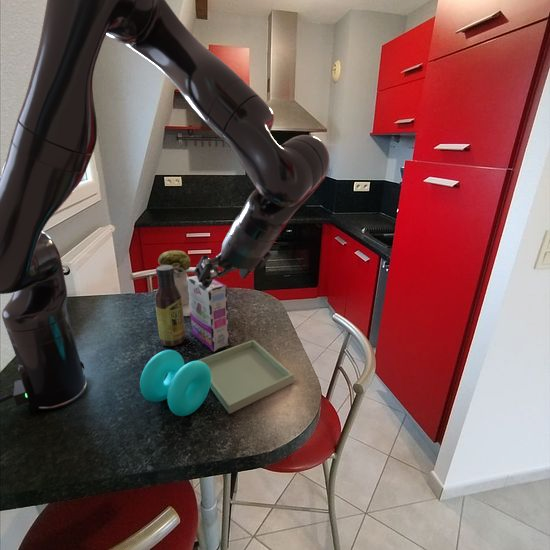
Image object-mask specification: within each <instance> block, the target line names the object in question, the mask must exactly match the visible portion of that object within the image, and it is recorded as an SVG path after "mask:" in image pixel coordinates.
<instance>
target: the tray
mask: <svg viewBox="0 0 550 550" xmlns="http://www.w3.org/2000/svg"><path fill="white" fill-rule="evenodd" d="M196 361H202V362H204V363H205V364H207V366H208V367H209V369H210V372H211V385H210V390H211V391H212V393H213V395H215V396H216V398H217V399H218V401H219V402H220V404H221V405H222V406H223V408H224V409H225V410H226V412H227V413H228V414H229V415H230V414H232V413H234V412H237V411H239V410H241V409H242V408H245V407H246V406H249V405H250V404H253V403H255V402H257V401H259V400H260V399H263V398H265V397H267V396H269V395H271V394H273V393H275V392H278V391H279V390H281V389H284V388H285V387H287V386H289V385H291V384H293V383H294V382H295V381H294V377H295V375H294V374H293V373H292V372H291V371H290V370H289V369H288V368H287V367H285V366H284V364H282V363H281V362H280V361H279V360H278V359H276V357H274V356H273V355H272V354H271V353H270V352H268V351H267V350H266V349H265V348H264V347H263V346H261V345H260V344H259V343H258V341H256V340H255V339H251V340H249V341H245V342H242V343H240V344H237V345H235V346H232V347H230V348H226V349H223V350H222V351H221V350H220V351H219V352H216V353H213V354H211V355H208V356H205V357H202V358H200V359H197V360H196Z"/></svg>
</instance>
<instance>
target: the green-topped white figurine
mask: <svg viewBox="0 0 550 550" xmlns="http://www.w3.org/2000/svg"><path fill="white" fill-rule="evenodd" d="M157 263H158V264H159V266H163V265H171V266H173V267H174V281H175V285H176V287H177V289H178V291H179V293H180V295H181V297H182V307H183V316H184V317H191V316H190V306H189V296H188V285H187V278H188V277H189V275H188V273H187V272H186V271H188V270H189V269H190V268H191V258H190V257H189V255H188V254H187V253H186V252H185V251H183V250H177V249H175V250H168V251H164V252H162V253H161V254H160V255H159V257H158V259H157Z"/></svg>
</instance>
